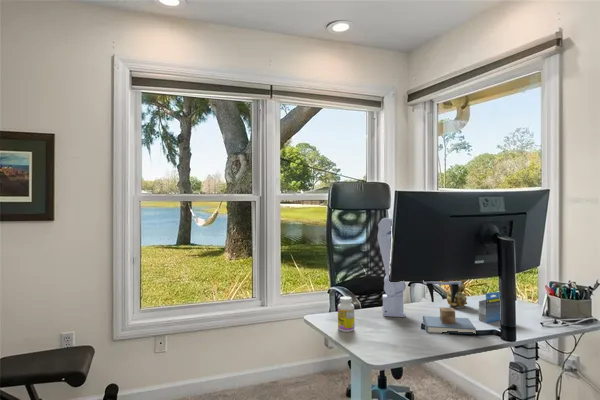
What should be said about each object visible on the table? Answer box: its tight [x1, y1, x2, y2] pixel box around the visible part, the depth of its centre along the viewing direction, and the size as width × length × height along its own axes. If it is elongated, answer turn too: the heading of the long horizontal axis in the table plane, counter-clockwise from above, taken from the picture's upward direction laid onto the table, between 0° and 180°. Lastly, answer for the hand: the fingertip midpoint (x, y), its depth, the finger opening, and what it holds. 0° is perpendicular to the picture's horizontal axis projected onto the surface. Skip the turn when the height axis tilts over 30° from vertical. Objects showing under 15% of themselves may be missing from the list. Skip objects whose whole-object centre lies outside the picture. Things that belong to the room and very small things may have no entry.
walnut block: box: [439, 306, 456, 324], centre depth 149 cm, size 5×5×5 cm
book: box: [422, 315, 477, 334], centre depth 148 cm, size 18×13×3 cm
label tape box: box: [478, 291, 501, 324], centre depth 157 cm, size 9×4×12 cm, turn 113°
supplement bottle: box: [337, 295, 356, 333], centre depth 149 cm, size 7×7×13 cm
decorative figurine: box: [446, 281, 468, 309], centre depth 179 cm, size 10×8×15 cm
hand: (442, 302), depth 153 cm, fingers open, 7 cm apart
